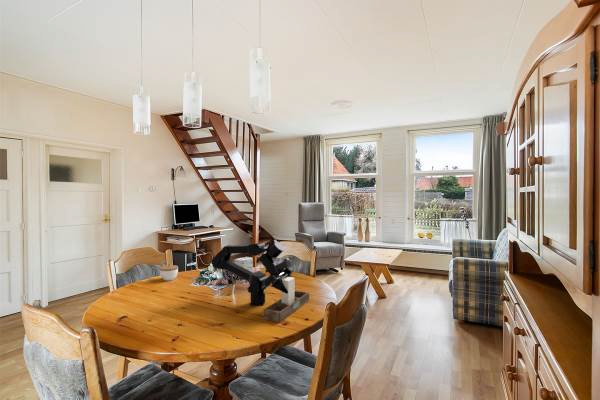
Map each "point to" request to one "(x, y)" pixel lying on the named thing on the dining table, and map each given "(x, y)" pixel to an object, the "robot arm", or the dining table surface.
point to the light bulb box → (245, 263)
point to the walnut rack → (285, 307)
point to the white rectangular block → (289, 290)
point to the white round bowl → (169, 272)
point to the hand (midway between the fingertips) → (290, 290)
